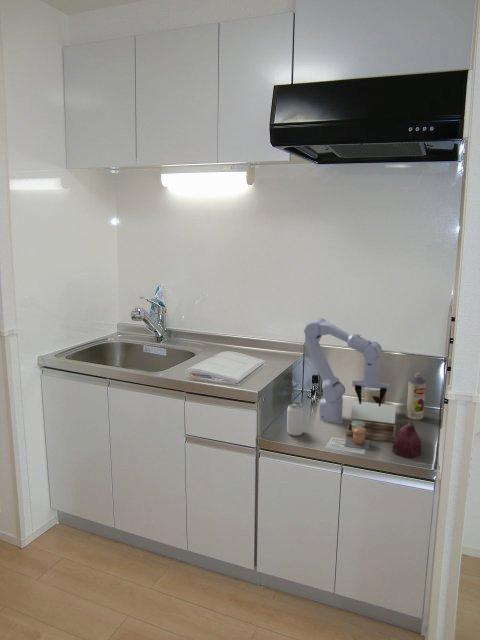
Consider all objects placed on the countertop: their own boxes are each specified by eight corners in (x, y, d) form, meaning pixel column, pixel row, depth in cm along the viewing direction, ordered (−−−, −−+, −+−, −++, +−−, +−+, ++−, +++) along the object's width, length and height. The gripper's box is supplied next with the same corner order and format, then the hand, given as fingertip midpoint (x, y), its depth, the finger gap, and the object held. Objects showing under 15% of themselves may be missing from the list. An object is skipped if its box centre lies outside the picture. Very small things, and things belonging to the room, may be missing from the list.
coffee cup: (374, 418, 214) (375, 392, 211) (358, 410, 222) (359, 385, 219) (389, 413, 219) (391, 387, 216) (374, 406, 227) (375, 381, 224)
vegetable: (421, 467, 180) (431, 436, 173) (392, 461, 182) (401, 430, 174) (418, 447, 189) (428, 416, 182) (390, 442, 191) (399, 411, 184)
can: (294, 427, 206) (294, 400, 203) (306, 432, 202) (306, 404, 199) (283, 432, 202) (284, 405, 199) (296, 437, 197) (296, 409, 194)
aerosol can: (412, 421, 210) (415, 377, 205) (403, 415, 216) (405, 371, 212) (426, 419, 212) (429, 375, 207) (416, 413, 218) (419, 370, 214)
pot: (350, 444, 190) (351, 431, 189) (353, 438, 195) (353, 425, 193) (364, 446, 188) (364, 433, 187) (366, 440, 193) (367, 427, 191)
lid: (353, 400, 215) (353, 401, 215) (350, 418, 207) (350, 418, 207) (396, 405, 210) (395, 406, 210) (394, 423, 202) (394, 424, 202)
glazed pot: (350, 434, 198) (350, 425, 197) (351, 429, 203) (351, 419, 202) (363, 436, 196) (364, 427, 195) (365, 430, 201) (365, 421, 200)
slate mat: (344, 447, 189) (344, 446, 189) (346, 438, 196) (346, 436, 196) (368, 450, 186) (368, 449, 186) (370, 441, 193) (370, 440, 193)
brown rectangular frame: (345, 437, 197) (346, 424, 196) (351, 417, 215) (351, 405, 214) (394, 443, 191) (395, 430, 190) (396, 422, 209) (396, 410, 208)
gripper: (351, 374, 198) (350, 406, 201) (389, 377, 193) (388, 410, 197) (353, 368, 205) (352, 399, 208) (390, 371, 200) (388, 403, 203)
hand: (369, 404), depth 203 cm, fingers open, 7 cm apart
